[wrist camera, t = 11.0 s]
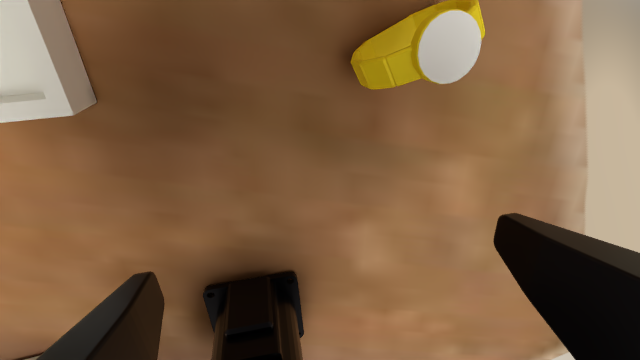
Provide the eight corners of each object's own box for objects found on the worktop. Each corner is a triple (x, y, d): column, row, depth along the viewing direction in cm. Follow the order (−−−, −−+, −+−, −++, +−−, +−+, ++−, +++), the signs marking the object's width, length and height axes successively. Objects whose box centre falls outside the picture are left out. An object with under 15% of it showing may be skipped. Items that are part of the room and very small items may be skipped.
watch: (428, -13, 18) (513, -32, 12) (443, 37, 19) (526, 40, 14) (331, 45, 18) (375, 52, 12) (353, 91, 19) (401, 115, 14)
